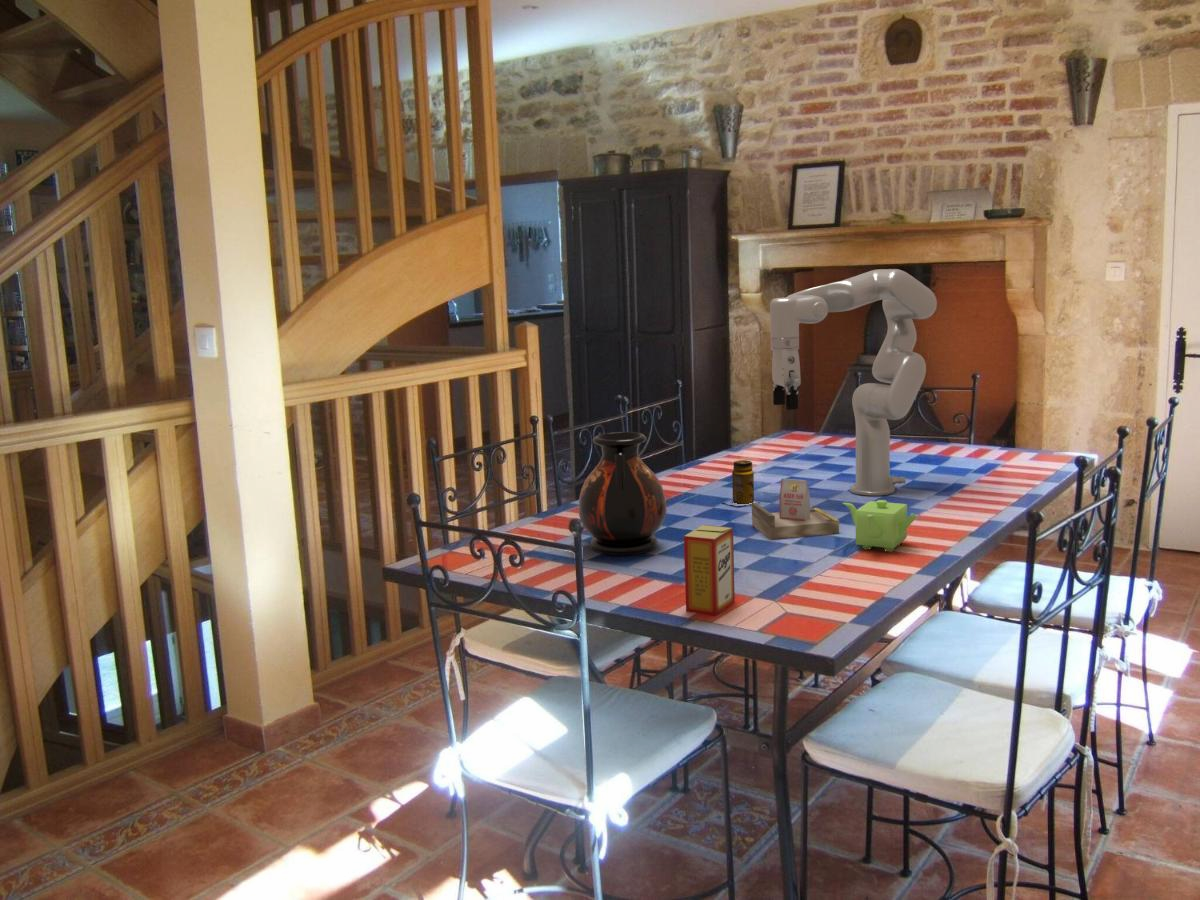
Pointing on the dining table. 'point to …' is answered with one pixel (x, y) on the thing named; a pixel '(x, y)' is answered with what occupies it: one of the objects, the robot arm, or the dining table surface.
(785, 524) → the dock
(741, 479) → the condiment
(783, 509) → the small white carton
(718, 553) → the baking soda box
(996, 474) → the dining table surface
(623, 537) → the amphora vase
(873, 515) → the kettle
